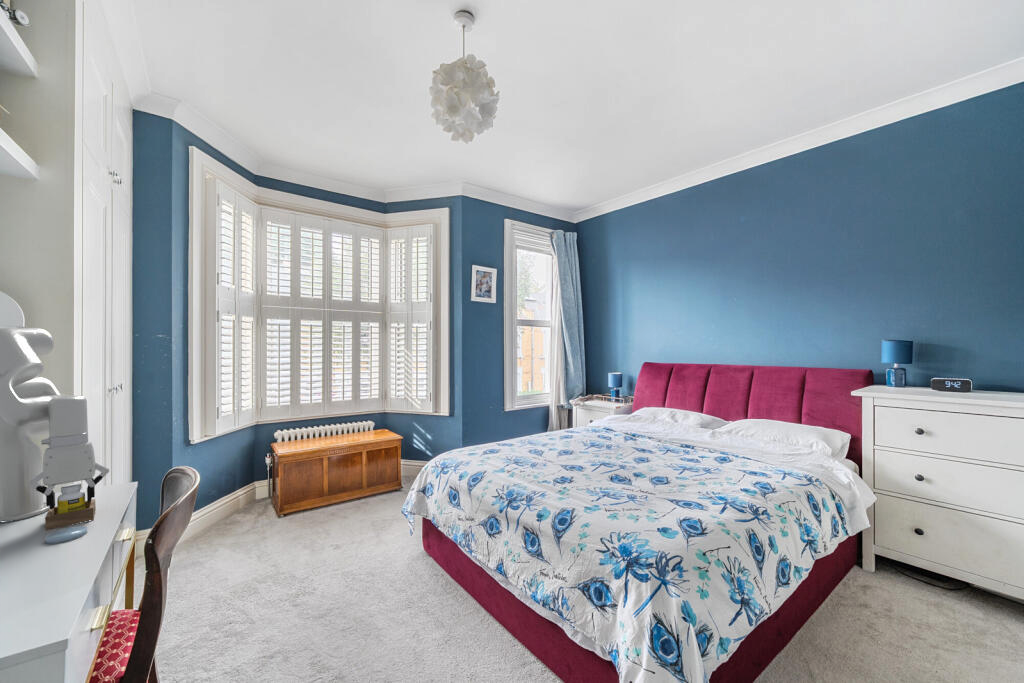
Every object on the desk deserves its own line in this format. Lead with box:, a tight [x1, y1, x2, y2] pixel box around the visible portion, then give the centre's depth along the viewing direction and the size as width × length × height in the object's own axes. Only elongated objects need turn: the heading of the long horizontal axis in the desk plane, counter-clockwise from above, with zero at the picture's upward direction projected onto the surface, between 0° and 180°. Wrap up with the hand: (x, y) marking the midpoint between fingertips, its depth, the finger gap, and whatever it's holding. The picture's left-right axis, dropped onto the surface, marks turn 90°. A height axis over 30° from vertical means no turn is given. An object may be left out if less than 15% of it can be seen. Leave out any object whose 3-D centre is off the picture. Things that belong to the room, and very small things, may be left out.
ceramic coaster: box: [44, 525, 88, 545], centre depth 109 cm, size 8×8×1 cm
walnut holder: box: [44, 498, 97, 532], centre depth 119 cm, size 9×9×4 cm
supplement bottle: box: [56, 482, 86, 514], centre depth 119 cm, size 5×5×10 cm
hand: (71, 503), depth 119 cm, fingers open, 6 cm apart
